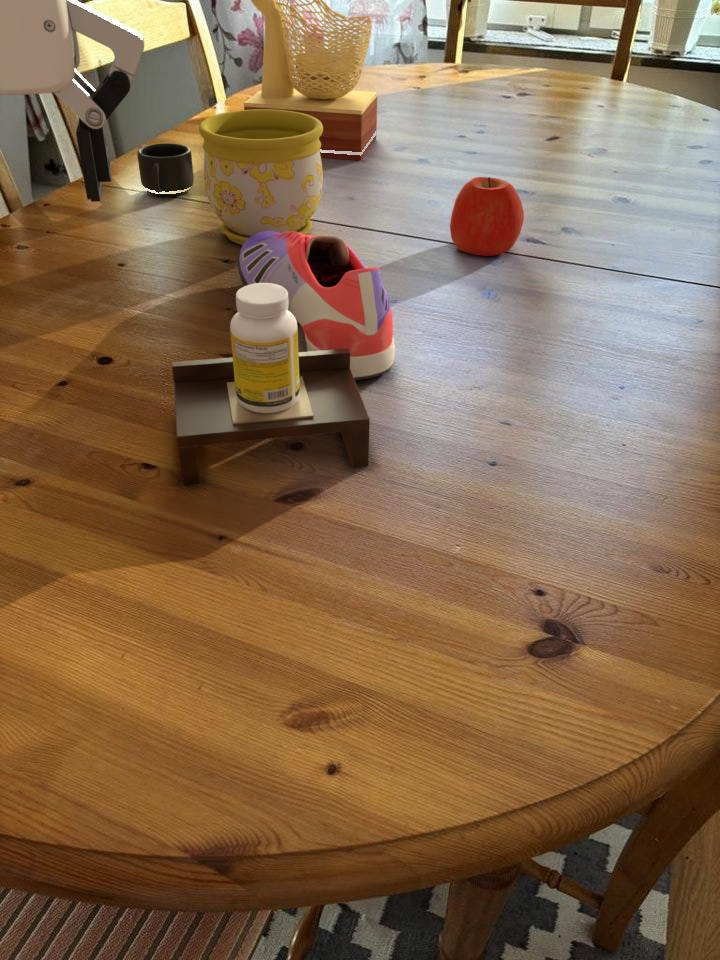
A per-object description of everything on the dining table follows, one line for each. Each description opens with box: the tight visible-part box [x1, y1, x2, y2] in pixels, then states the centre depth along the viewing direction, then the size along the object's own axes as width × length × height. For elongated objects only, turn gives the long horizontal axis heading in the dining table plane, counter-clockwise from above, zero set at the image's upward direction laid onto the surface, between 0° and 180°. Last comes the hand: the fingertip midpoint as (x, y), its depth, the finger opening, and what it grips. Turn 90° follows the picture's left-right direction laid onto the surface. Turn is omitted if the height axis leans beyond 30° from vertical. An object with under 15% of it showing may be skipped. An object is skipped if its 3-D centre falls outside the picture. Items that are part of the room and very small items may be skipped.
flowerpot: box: [198, 109, 324, 246], centre depth 130 cm, size 18×18×16 cm
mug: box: [136, 142, 195, 198], centre depth 147 cm, size 12×9×7 cm
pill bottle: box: [229, 283, 300, 413], centre depth 80 cm, size 6×6×11 cm
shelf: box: [171, 348, 371, 486], centre depth 85 cm, size 18×11×7 cm, turn 101°
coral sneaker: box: [237, 231, 396, 381], centre depth 106 cm, size 12×36×13 cm, turn 24°
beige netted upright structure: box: [243, 0, 378, 162], centre depth 166 cm, size 25×18×35 cm
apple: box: [449, 176, 525, 257], centre depth 128 cm, size 11×11×11 cm
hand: (10, 198), depth 50 cm, fingers open, 9 cm apart
